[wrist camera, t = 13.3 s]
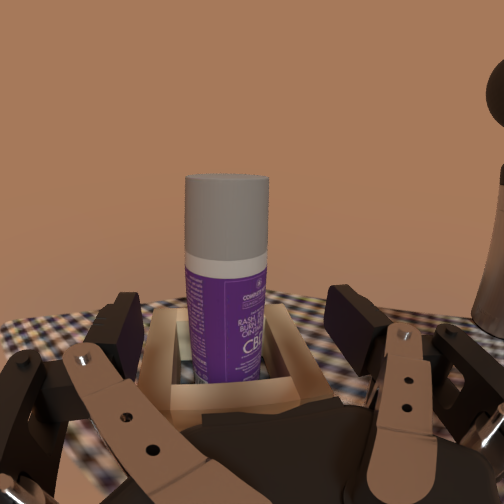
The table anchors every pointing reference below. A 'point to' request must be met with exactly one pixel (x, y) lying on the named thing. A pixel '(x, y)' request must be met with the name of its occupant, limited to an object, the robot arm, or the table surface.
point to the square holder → (234, 393)
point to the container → (226, 274)
